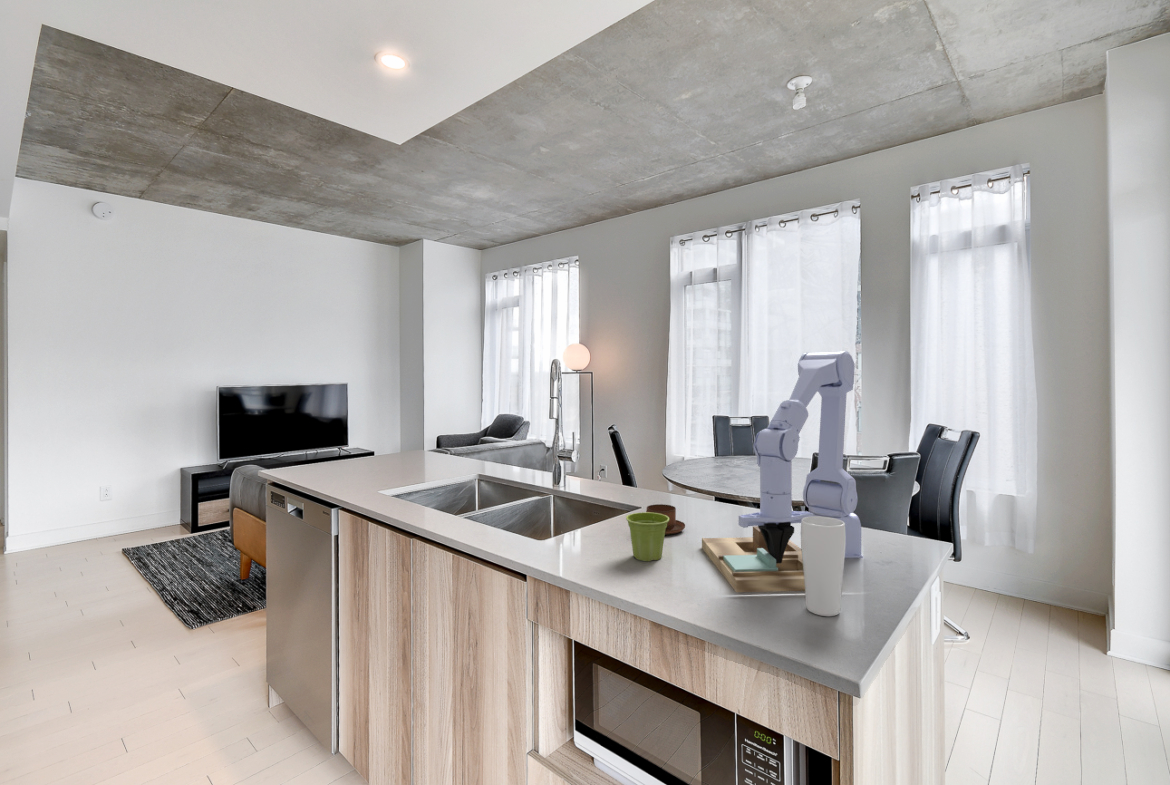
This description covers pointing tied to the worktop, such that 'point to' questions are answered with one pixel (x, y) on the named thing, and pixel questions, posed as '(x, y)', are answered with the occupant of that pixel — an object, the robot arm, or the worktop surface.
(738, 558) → the lid
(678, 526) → the cup and saucer
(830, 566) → the drinking glass
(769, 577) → the board
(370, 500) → the worktop surface
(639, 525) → the plant pot
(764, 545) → the block
